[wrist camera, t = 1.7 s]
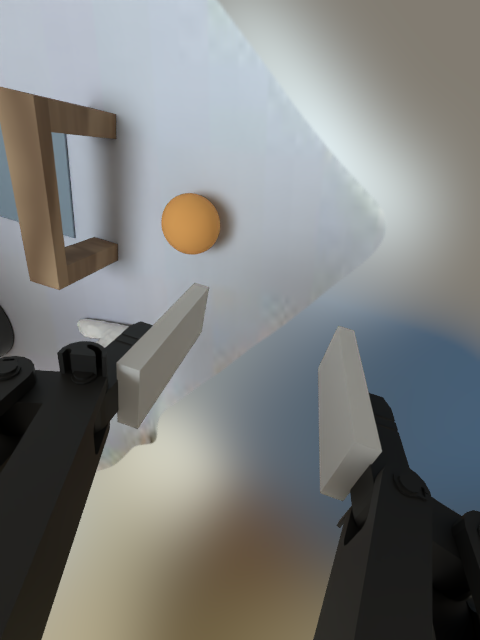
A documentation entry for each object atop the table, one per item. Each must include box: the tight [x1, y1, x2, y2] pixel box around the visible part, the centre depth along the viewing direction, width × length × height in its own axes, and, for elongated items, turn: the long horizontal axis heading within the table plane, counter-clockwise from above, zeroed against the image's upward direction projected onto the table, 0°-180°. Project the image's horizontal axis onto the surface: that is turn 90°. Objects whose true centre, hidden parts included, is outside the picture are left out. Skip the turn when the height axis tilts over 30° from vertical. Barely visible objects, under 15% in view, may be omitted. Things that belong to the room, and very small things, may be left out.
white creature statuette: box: [77, 319, 129, 348], centre depth 35 cm, size 10×9×12 cm
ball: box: [162, 193, 220, 254], centre depth 27 cm, size 6×6×6 cm
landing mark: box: [0, 124, 75, 238], centre depth 31 cm, size 12×12×1 cm
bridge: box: [0, 87, 118, 290], centre depth 27 cm, size 3×14×9 cm, turn 168°
